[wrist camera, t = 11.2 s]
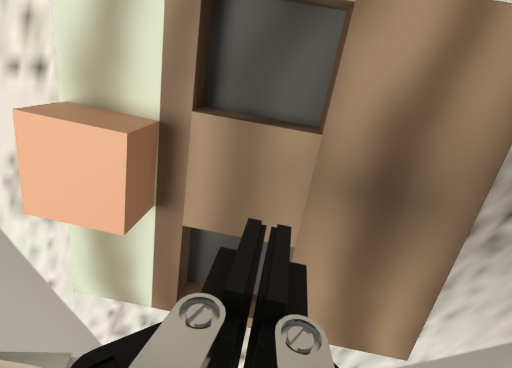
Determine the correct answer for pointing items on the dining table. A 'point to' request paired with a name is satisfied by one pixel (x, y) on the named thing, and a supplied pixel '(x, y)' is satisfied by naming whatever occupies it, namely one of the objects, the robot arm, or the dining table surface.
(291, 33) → the board
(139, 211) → the terracotta block
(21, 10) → the dining table surface
